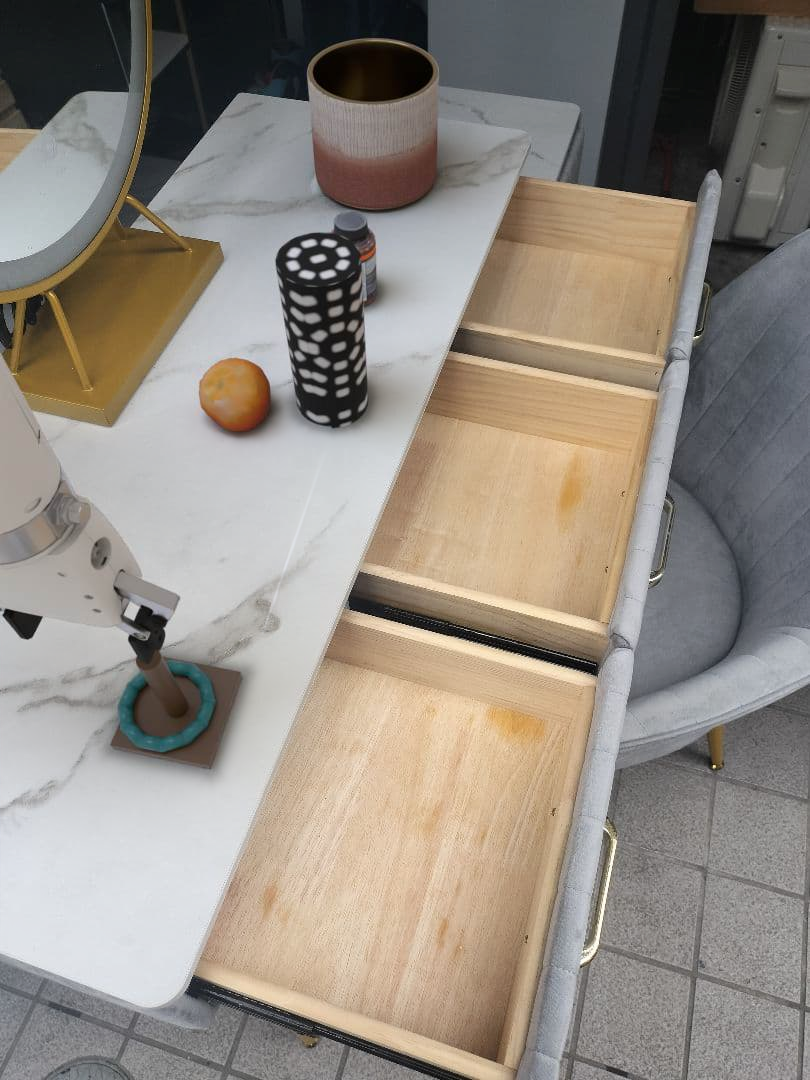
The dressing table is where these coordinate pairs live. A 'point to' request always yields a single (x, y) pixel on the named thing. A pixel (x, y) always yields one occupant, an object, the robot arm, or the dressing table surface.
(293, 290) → the spotted tube
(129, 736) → the bangle
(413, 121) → the planter
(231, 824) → the dressing table surface
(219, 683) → the jewel stand
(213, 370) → the fruit
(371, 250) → the supplement bottle
